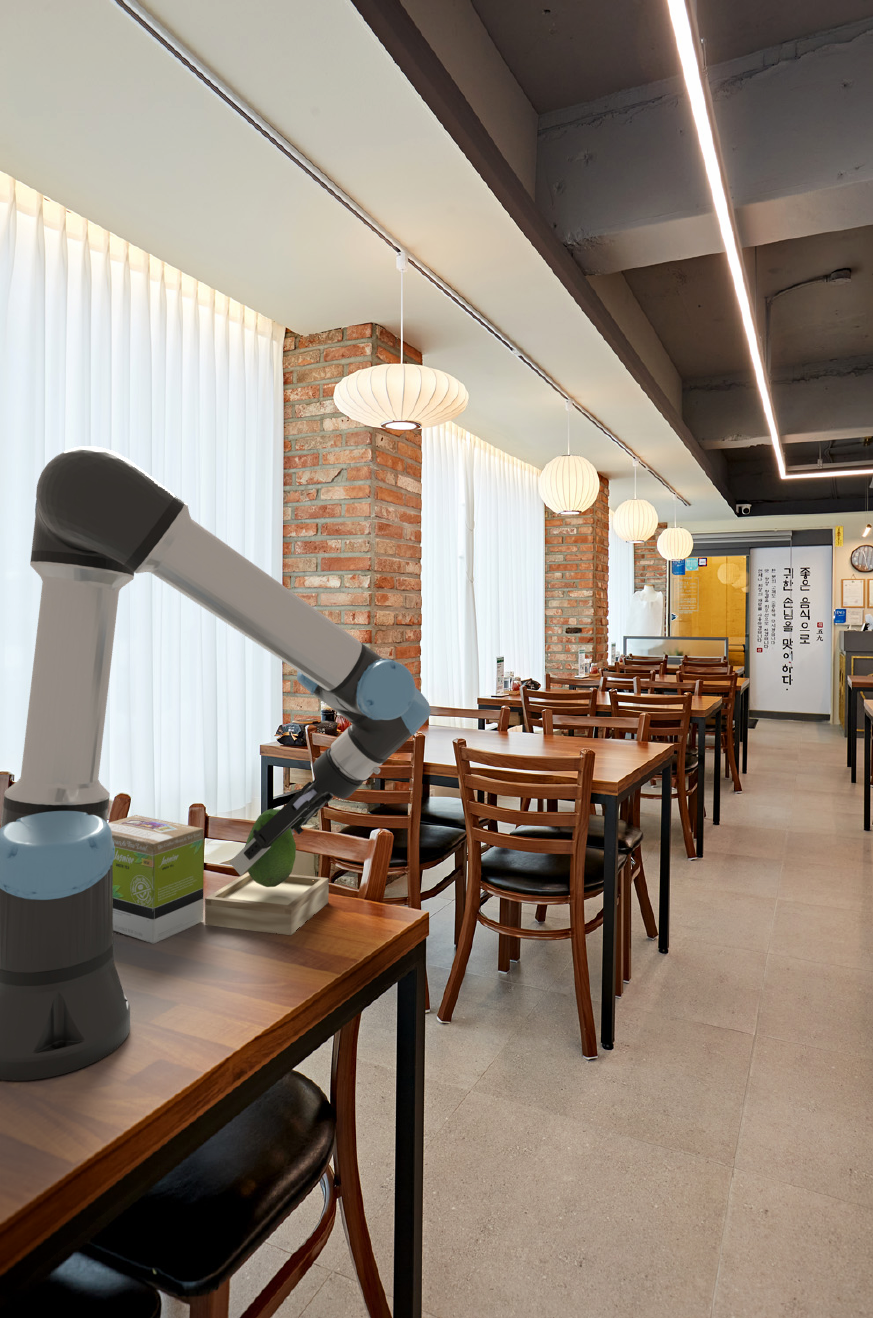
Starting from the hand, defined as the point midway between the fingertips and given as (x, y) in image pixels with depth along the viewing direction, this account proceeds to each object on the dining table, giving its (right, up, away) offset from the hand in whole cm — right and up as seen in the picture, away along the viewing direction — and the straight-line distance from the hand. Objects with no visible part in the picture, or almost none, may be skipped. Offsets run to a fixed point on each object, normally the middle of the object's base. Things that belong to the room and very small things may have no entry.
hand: (249, 860), depth 119 cm
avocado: (+3, -4, -1) cm, 5 cm away
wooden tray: (+3, -8, -1) cm, 9 cm away
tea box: (-15, -8, -5) cm, 18 cm away
